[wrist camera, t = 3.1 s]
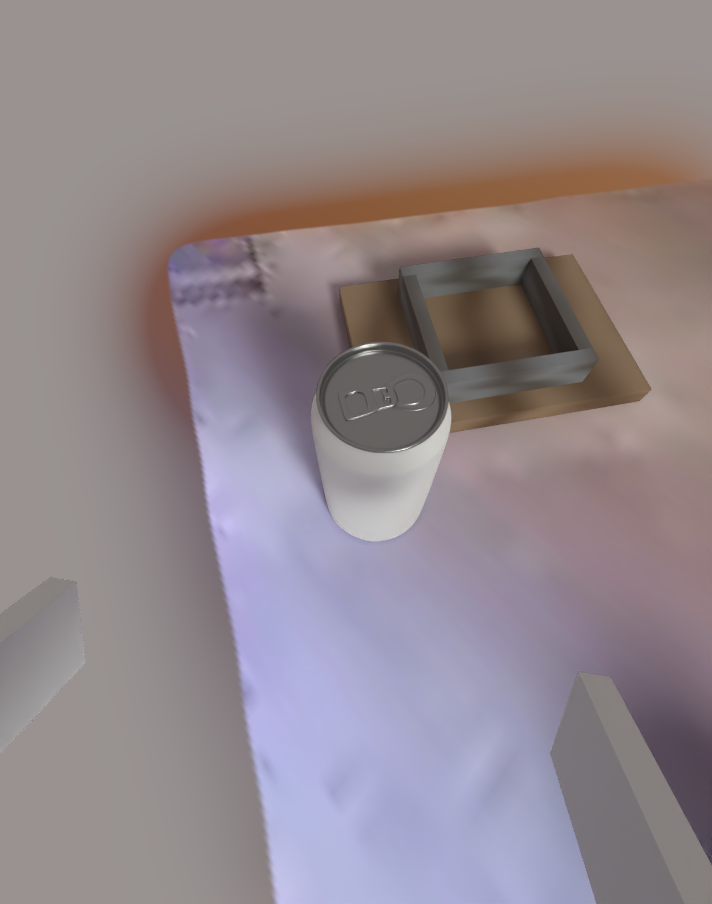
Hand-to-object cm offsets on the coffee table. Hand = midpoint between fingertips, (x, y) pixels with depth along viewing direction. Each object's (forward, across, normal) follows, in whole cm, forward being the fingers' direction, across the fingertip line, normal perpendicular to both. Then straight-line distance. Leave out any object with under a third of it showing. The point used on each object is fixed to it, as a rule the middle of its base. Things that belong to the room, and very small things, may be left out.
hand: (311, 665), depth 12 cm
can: (+18, 0, -3) cm, 18 cm away
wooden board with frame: (+28, +7, +7) cm, 29 cm away
